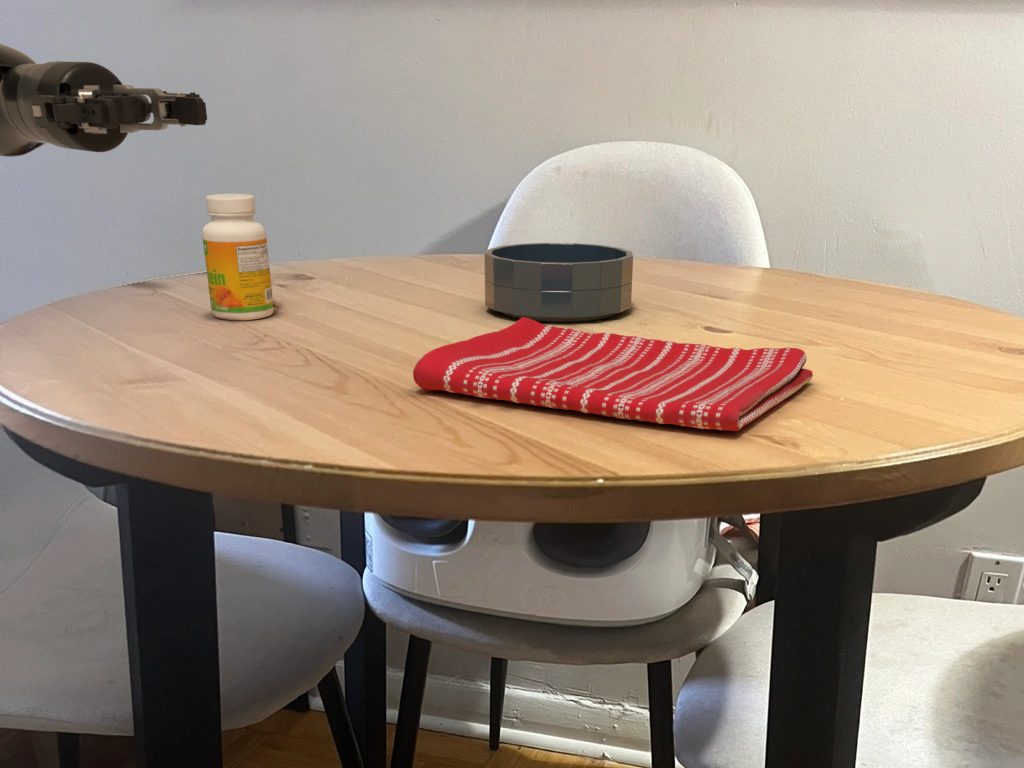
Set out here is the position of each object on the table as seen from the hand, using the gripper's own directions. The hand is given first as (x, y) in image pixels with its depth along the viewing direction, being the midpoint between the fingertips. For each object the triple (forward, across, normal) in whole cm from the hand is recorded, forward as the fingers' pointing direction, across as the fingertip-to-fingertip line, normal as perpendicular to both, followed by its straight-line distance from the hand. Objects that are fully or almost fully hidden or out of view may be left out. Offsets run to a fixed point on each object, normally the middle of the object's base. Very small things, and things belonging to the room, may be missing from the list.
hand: (158, 112), depth 101 cm
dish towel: (+51, +4, +16) cm, 53 cm away
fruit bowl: (+28, +22, +16) cm, 39 cm away
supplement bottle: (+10, 0, +16) cm, 19 cm away
